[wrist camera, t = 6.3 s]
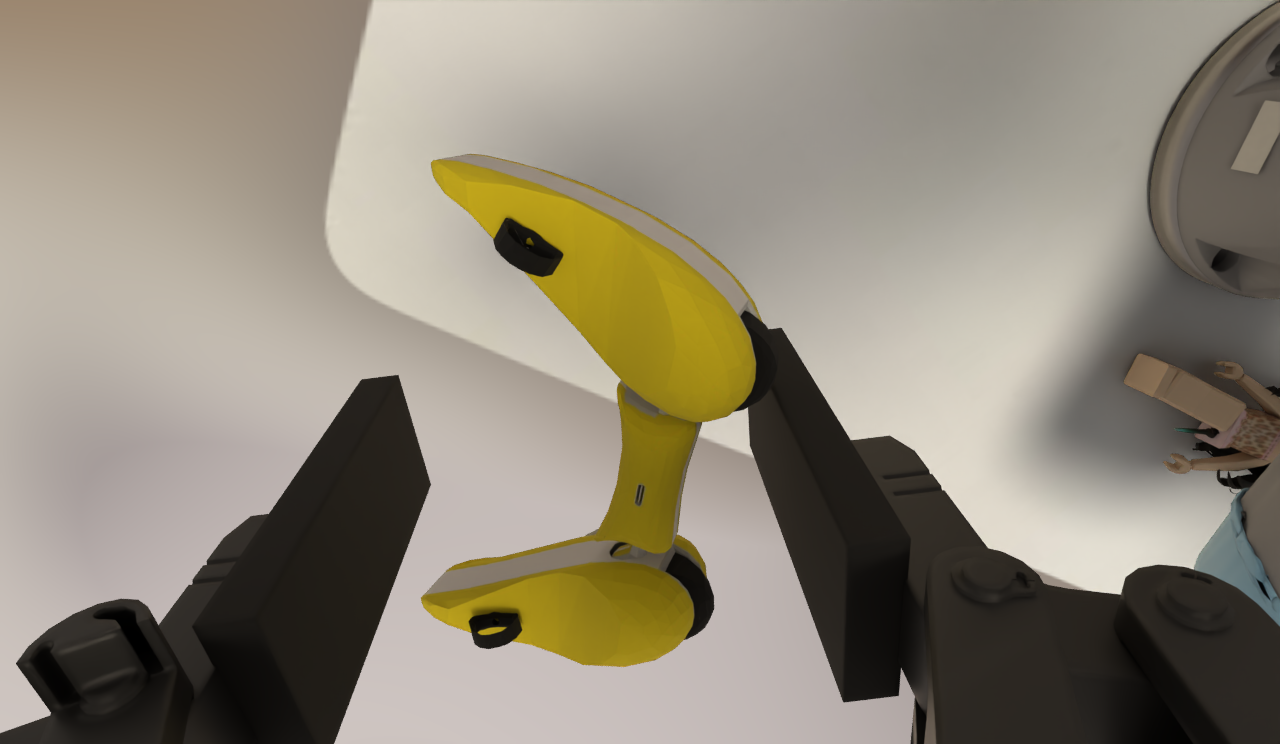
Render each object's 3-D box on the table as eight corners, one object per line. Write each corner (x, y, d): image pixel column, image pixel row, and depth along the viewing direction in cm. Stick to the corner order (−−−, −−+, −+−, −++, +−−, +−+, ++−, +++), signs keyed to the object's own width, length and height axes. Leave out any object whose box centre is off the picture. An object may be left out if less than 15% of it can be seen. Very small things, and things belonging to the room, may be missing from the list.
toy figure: (1077, 438, 43) (1279, 490, 45) (1153, 485, 37) (1381, 544, 39) (1133, 331, 41) (1341, 391, 43) (1222, 363, 35) (1459, 431, 37)
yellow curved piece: (715, 626, 16) (672, 749, 13) (480, 537, 18) (394, 630, 15) (826, 213, 12) (801, 257, 9) (507, 142, 14) (394, 160, 11)
